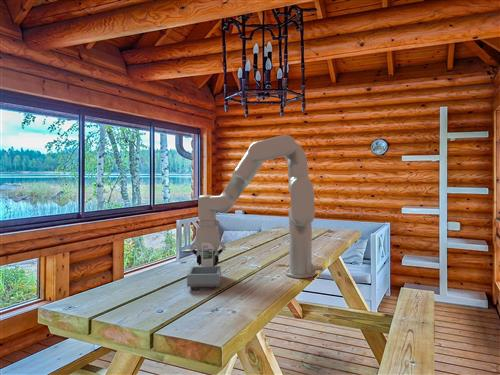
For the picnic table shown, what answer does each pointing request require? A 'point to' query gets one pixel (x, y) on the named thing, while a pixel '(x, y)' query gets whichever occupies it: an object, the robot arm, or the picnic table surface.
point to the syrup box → (207, 255)
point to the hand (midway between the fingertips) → (207, 264)
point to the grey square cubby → (204, 276)
